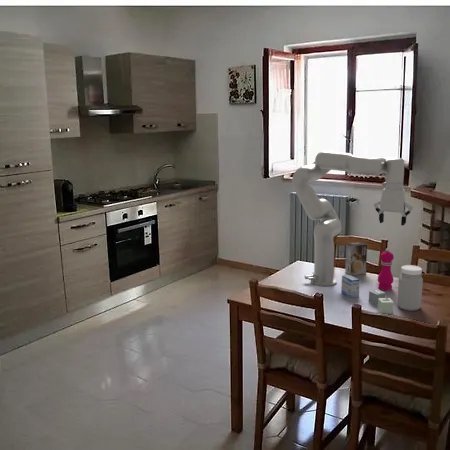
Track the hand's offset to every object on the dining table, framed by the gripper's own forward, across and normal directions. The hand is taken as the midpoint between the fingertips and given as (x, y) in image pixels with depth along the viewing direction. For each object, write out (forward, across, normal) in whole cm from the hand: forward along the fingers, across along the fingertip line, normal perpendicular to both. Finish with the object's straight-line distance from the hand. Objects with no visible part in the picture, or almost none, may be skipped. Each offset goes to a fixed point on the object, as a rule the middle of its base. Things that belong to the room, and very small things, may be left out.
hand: (392, 223), depth 225 cm
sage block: (+34, +5, -20) cm, 40 cm away
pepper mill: (+34, -4, +8) cm, 35 cm away
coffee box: (+34, -25, +22) cm, 48 cm away
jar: (+34, +12, -10) cm, 38 cm away
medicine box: (+34, -15, -10) cm, 38 cm away
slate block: (+34, -1, -12) cm, 36 cm away
